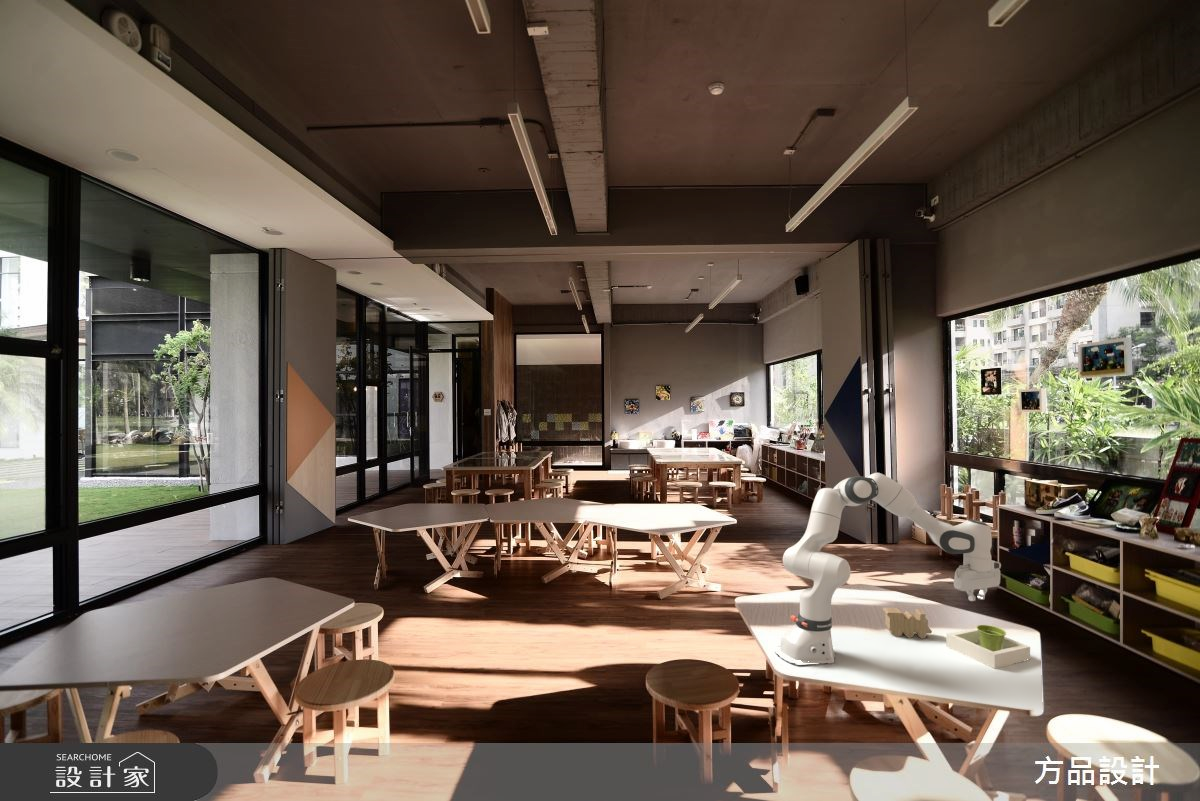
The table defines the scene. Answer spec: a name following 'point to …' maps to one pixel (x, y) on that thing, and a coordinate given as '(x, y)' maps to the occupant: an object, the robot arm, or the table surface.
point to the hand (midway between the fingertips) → (976, 599)
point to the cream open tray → (1005, 656)
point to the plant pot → (991, 637)
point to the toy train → (906, 622)
